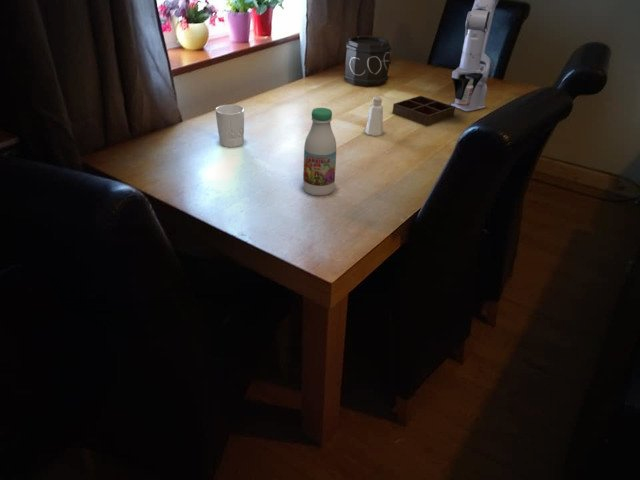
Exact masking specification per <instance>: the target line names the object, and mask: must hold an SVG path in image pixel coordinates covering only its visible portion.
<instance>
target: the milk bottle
mask: <svg viewBox="0 0 640 480" xmlns="http://www.w3.org/2000/svg"><path fill="white" fill-rule="evenodd" d="M332 117H333V112H332V110H331V109H330V108H327V107H316V108H315V107H314V108H313V109H311V121H312V123H311V127H310V129H309V131H308V133H307V135H306V137H305V140H304V148H303V176H302V178H303V179H302V187H303V190H304V192H306V193H307V194H310V195H311V196H312V195H313V196H326V195H329V194H331V193H333V192H334V190H335V185H336V183H335V182H336V170H337V169H336V168H337V167H336V164H337V141H336V137H335V134H334V132H333V129H332V126H331V122H332Z"/></svg>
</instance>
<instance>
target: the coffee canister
mask: <svg viewBox="0 0 640 480" xmlns="http://www.w3.org/2000/svg"><path fill="white" fill-rule="evenodd" d="M345 47H346V51H345V52H346V53H345V64H344V65H345V71H344V79H346V83H347V84H350V85H353V86H354V87H355V86H357V87H362V88H363V87H364V88H375V87H381V86H382V85H385V84H386V81H388V80H389V76H388V74H389V69H390V65H391V64H392V59H391V51H392V46H391V43H390V41H389V39H387V38H384V37H382V36H375V35H357V36H356V35H354V36H351V37H349V38H348V41H346V43H345Z"/></svg>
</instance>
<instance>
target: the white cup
mask: <svg viewBox="0 0 640 480" xmlns="http://www.w3.org/2000/svg"><path fill="white" fill-rule="evenodd" d="M215 117H216V125H217V132H218V137H219V143H220V145H221V146H223V147H226V148H235V147H240V146H242V145H243V144H244V142H245V141H244V135H245V108H244V107H243V106H241V105H238V104H222V105H219V106H217V107H216V108H215Z"/></svg>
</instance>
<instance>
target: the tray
mask: <svg viewBox="0 0 640 480" xmlns="http://www.w3.org/2000/svg"><path fill="white" fill-rule="evenodd" d="M455 112H456V107H455V106H452V105H451V104H448V103H445V102H441V101H438V100H437V99H433V98H429V97H426V96H424V95H417V96H413V97H411V98H408V99H405V100H401V101H398V102H394V103H393V104H392V114H393V115H396V116H399V117H401V118H404V119H407V120H409V121H412V122H414V123H417V124H420V125H423V126H425V127H429V126H432V125H434V124H437V123H439V122H442V121H446V120H449V119H451V118H454V116H455Z"/></svg>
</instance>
